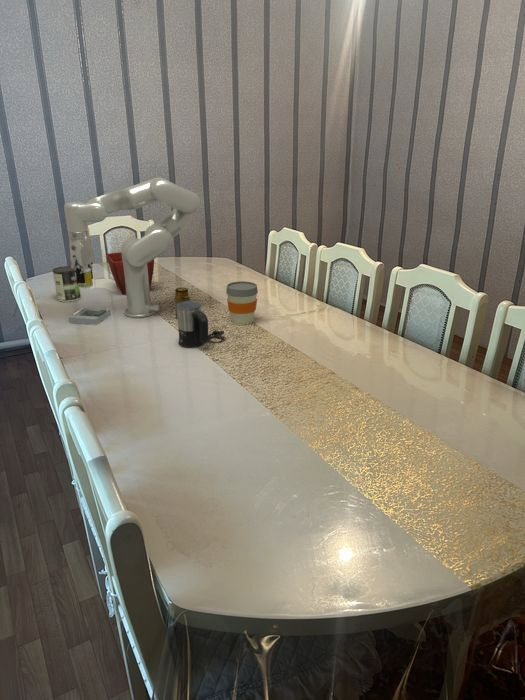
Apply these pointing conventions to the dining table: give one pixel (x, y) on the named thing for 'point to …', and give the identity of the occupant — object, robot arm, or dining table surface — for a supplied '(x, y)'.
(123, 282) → the plant pot
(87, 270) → the supplement bottle
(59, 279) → the coffee can
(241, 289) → the reusable coffee cup
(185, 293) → the condiment
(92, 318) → the dock
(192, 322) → the milk frother
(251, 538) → the dining table surface
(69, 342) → the dining table surface
